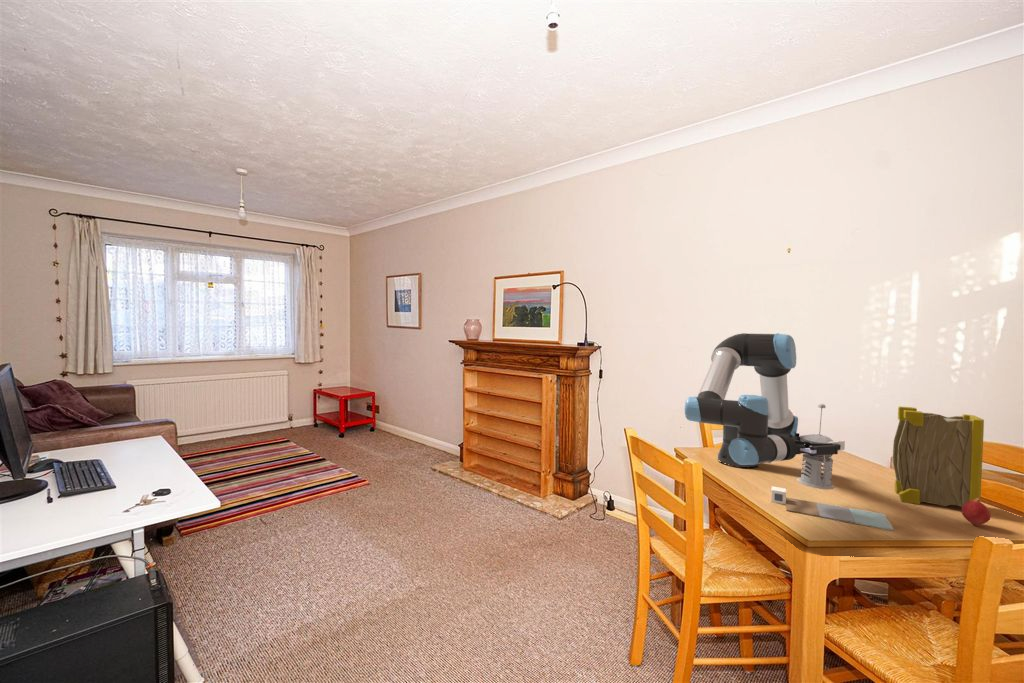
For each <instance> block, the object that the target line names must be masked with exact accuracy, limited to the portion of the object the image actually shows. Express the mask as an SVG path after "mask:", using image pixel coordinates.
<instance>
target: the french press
mask: <svg viewBox="0 0 1024 683" xmlns="http://www.w3.org/2000/svg"><path fill="white" fill-rule="evenodd" d="M817 408H820V419H819V431H818V432H819V433H818V434H815V433H814V434H813V435H811V434H807V435H808V436H805V437H803V438H804V440H806V441H808V442H811V443H828V442H833V441H834V440H833V439H832V438H830V437H828V436H826V435H824V434H821V430H822V429H821V428H822V427H821V426H822V415H823V409H826V405H825V404H824V403H819V404H818V406H817ZM832 457H833V455H817V456H810V453H809V454H803V453H802V457H801V458H802V459H801V461H802V462H801V470H800V471H801V474H800V475H801V476H800V477H798V478H797V479H796V480H797V482H798V483H799V484H802V485H805V486H807V487H810V488H813V489H819V490H834V489H835V488H836V487H835V486H834V484H833V483H832V477H833V476H832V475H833V474H832V473H833V462H834V459H833V458H832Z"/></svg>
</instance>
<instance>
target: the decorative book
mask: <svg viewBox="0 0 1024 683" xmlns="http://www.w3.org/2000/svg"><path fill="white" fill-rule="evenodd" d="M897 420H899V421H898V425H897V428H896V432H895V435H894V439H893V444H892V446H893V447H892V464H893V470H894V474H895V479H894V493H896V494H897V495H899V499H900V501H901V503H906V504H907V503H908V504H913V505H921V502H923V503H930V504H934V505H938V506H942V507H947V506H950V505H951V506H952V505H953V506H957V507H958V506H959V507H960V508H962V506H963V505H964V504H965V503H967V502H969V501H972V500H974V499H976V498H978V499H979V500H980V501H981V494H982V477H983V476H982V474H983V473H982V472H983V469H982V468H983V454H984V452H983V451H984V432H985V431H984V428H985V420H984V419H983V418H981V417H979V416H976V415H972V414H965V413H964V414H962V415H958V416H957V415H956V416H944V415H941V414H937V413H931V412H923V411H920V410H919V411H918V409H917V408H916V407H913V406H912V407H910V406H898V408H897Z"/></svg>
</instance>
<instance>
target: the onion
mask: <svg viewBox="0 0 1024 683" xmlns="http://www.w3.org/2000/svg"><path fill="white" fill-rule="evenodd" d="M961 514H962V516H963V518H965V520H966V521H968V522H969V523H970V524H972V525H973V526H975V527H980V526H981V525H983V524H986V523H988V522H989V521H990V520H991V517H992V516H991V511H990V510H989V508H988V507H987V506H986V505H985V504H983V502H981V499H980V500H979V499H978V498H976V499H974V500H972V501H969V502H967V503H965V504H964V505H963V506H962V507H961Z"/></svg>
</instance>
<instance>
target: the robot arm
mask: <svg viewBox="0 0 1024 683" xmlns="http://www.w3.org/2000/svg"><path fill="white" fill-rule="evenodd" d="M796 348H797V346H796V344H795V340H794V338H793V336H792V335H790V334H786V333H784V334H783V333H746V332H744V333H742V332H741V333H737V334H734V335H731V336H729V337H727V338H726V339H724V340H722V341H721V342H720V343H719V344H718V345H717V346H716V347H715V348H714V349H713V351H712V353H711V356H710V359H711V364H710V365H709V368H708V371H707V373H706V375H705V378H704V380H703V383H702V385H701V387H700V390H699V392H698V394H697V396H696V395H695V396H688V397H687V398H686V400H685V403H684V416H685V418H686V420H688V421H689V422H694V423H695V422H696V423H698V424H709V425H717V426H723V427H722V444H721V446H720V449H719V451H718V453H717V461H718V460H720V461H721V462H723V463H726V464H729V465H733V466H738V467H737V468H740V467H748V468H747V469H750V468H749V467H754V468H757V467H758V466H759V464H771V463H774V462H782V461H789V460H793V459H794V458H795V457H796V456H797V455H801V454H802V455H803V454H809V453H810V456H817V455H832V456H833V455H838V453H839V452H840V451H845V444H846V442H845V440H833V442H828V443H811V442H808V441H806V440H804V438H803V437H805V436H808V435H809V434H802V435H800V433H799V432H798V425H799V417H798V416H797V415H795V414H793V412H792V411H791V409H789V390H788V388H789V387H788V374H789V373H791V372H790V371H791V370H792V369H795V367H796V366H797V352H796V351H797V349H796ZM741 366H742V367H753V369H754V371H755V372H756V374H758V375H759V383H760V384H759V385H760V393H761V395H758V394H757V395H756V394H741V395H739V397H738V400H731V399H726V396H727V392H728V391H729V388H730V384H731V382H732V379H733V376H734V373H735V370H737V369H738V368H739V367H741ZM810 435H813V434H811V433H810ZM729 465H728V466H729ZM733 466H732V467H733ZM756 466H757V467H756Z"/></svg>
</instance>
